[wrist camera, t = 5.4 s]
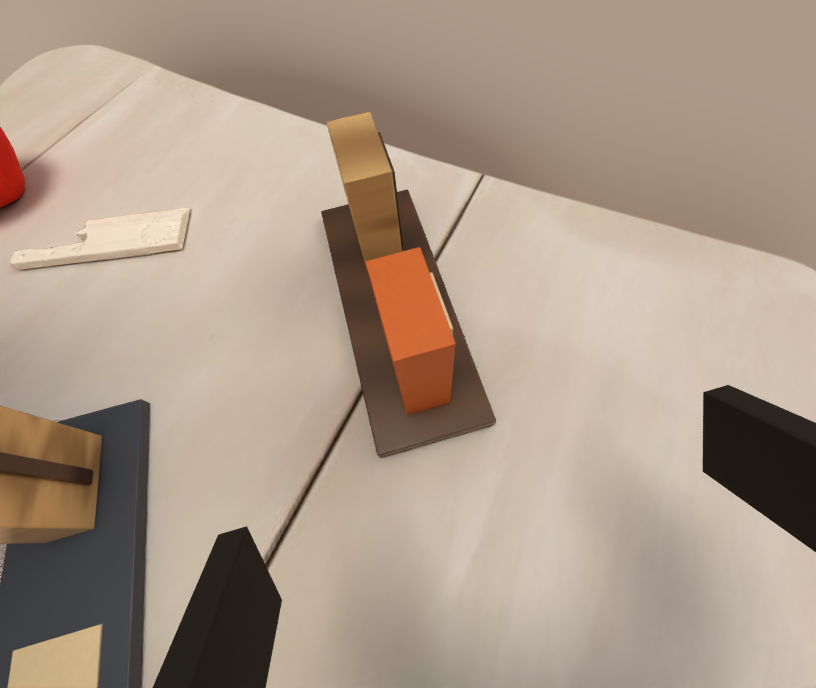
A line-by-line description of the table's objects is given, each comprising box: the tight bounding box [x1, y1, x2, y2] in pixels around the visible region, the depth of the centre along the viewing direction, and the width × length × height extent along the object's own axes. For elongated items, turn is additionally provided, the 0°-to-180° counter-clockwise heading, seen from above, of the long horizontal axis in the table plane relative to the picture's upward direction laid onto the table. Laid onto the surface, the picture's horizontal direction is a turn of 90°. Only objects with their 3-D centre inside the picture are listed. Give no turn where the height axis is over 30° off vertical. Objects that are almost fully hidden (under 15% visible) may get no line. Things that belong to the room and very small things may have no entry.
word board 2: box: [321, 190, 496, 458], centre depth 30 cm, size 22×8×1 cm, turn 15°
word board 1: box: [0, 399, 150, 688], centre depth 23 cm, size 22×8×1 cm, turn 15°
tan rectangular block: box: [327, 112, 403, 273], centre depth 29 cm, size 6×3×9 cm, turn 15°
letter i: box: [0, 406, 102, 544], centre depth 21 cm, size 6×3×9 cm, turn 15°
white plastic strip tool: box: [10, 208, 190, 270], centre depth 36 cm, size 5×15×1 cm, turn 95°
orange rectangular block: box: [366, 247, 455, 415], centre depth 23 cm, size 6×3×9 cm, turn 15°
